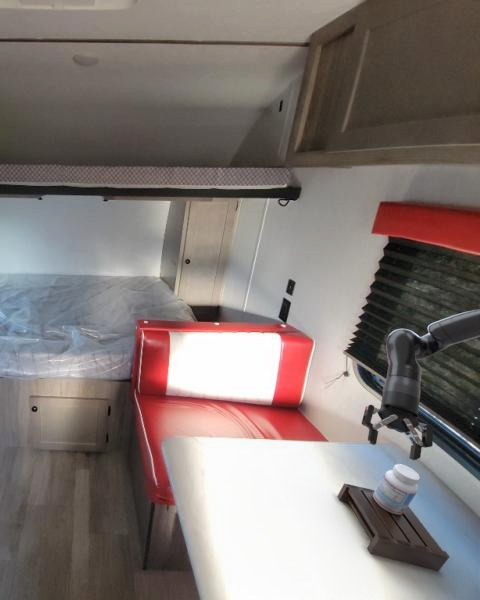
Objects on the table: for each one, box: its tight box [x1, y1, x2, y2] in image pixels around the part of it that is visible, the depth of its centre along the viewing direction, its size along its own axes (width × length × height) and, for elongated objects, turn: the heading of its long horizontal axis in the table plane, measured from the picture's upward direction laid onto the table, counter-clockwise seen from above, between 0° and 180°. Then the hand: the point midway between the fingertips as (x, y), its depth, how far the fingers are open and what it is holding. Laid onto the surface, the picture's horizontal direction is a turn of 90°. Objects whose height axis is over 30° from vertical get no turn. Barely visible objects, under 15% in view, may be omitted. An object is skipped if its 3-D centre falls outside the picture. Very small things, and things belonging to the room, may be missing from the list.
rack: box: [337, 483, 450, 572], centre depth 82 cm, size 14×15×5 cm
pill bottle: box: [373, 463, 421, 515], centre depth 82 cm, size 6×6×11 cm
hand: (392, 451), depth 89 cm, fingers open, 8 cm apart
